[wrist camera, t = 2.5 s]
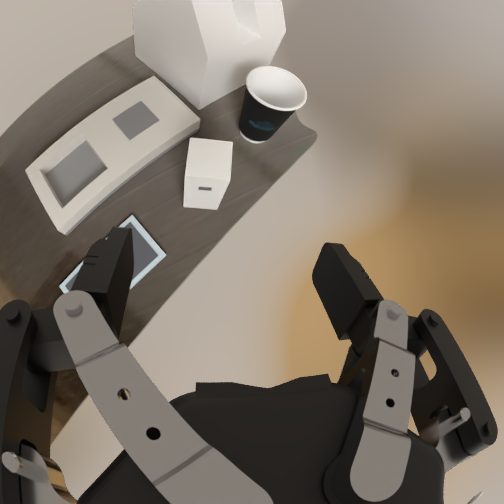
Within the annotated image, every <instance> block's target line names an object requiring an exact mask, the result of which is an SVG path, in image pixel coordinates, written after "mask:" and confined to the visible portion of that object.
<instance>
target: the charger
mask: <svg viewBox="0 0 504 504" xmlns="http://www.w3.org/2000/svg"><path fill="white" fill-rule="evenodd" d="M232 147H233V142H228V141H219V140H210V139H200V138H190V142H189V149H188V156H187V163H186V171H185V182H184V204H183V207H191V208H203V209H215V210H217V209H218V206H219V204H220V202H221V200H222V197H223V195H224V193H225V191H226V189H227V186H228V184H229V182H230V178H231V162H232Z"/></svg>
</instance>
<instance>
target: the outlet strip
mask: <svg viewBox="0 0 504 504" xmlns="http://www.w3.org/2000/svg"><path fill="white" fill-rule="evenodd" d="M200 120H201V119H200V118H199V117H198V116H197V115H196V114H194V113H193V112H192V111H191V110H190V109H189V108H188V107H187V106H186V105H185V104H184V103H183V102H182V101H181V100H180V99H179V98H178V97H177V96H176V95H175V94H174V93H173V92H171V91H170V90H169V89H168V88H167V87H166V86H165V85H164V84H163V83H162V82H161V81H160V80H158V79H157V78H156V77H155V76H153V77H151V78H149V79H147V80H145V81H143V82H141V83H140V84H138V85H136V86H134V87H133V88H131V89H129V90H128V91H126V92H124V93H123V94H121V95H119V96H118V97H116V98H115V99H113V100H112V101H110V102H108V103H107V104H105V105H104V106H102V107H101V108H99V109H98V110H97V111H95V112H94V113H92V114H91V115H90V116H88V117H87V118H85V119H84V120H83V121H81V122H80V123H79V124H77V125H76V126H75V127H73V128H72V129H71V130H70V131H68V132H67V133H66V134H65V135H63V136H62V137H61V138H60V139H59V140H57V141H56V142H55V143H54V144H53V145H52V146H50V147H49V148H48V149H47V150H46V151H45V152H44V153H43V154H42V155H40V156H39V157H38V158H37V159H36V160H35V161H34V162H33V163H32V164H31V165H30V166H29V167H28V168H27V169H26V170H25V171H26V173H27V175H28V177H29V179H30V181H31V183H32V185H33V187H34V189H35V191H36V193H37V195H38V197H39V198H40V200H41V202H42V204H43V206H44V208H45V209H46V211H47V213H48V215H49V216H50V218H51V220H52V221H53V223H54V225H55V226H56V228H57V230H58V231H59V232H61V233H63V234H65V235H68V234H69V233H70V232H71V231H72V230H73V229H74V228H75V227H76V226H77V225H78V224H79V223H81V222H82V221H83V220H84V219H85V218H86V217H87V216H88V215H89V214H90V213H91V212H92V211H94V210H95V209H96V208H97V207H98V206H99V205H100V204H101V203H103V202H104V201H105V200H106V199H107V198H108V197H109V196H111V195H112V194H113V193H114V192H115V191H117V190H118V189H119V188H120V187H121V186H123V185H124V184H125V183H126V182H128V181H129V180H130V179H131V178H133V177H134V176H135V175H137V174H138V173H139V172H140V171H142V170H143V169H144V168H146V167H147V166H148V165H150V164H151V163H152V162H154V161H155V160H156V159H158V158H159V157H161V156H162V155H163V154H165V153H166V152H168V151H169V150H171V149H172V148H173V147H175V146H176V145H178V144H179V143H181V142H182V141H184V140H185V139H187V138H188V137H190V136H191V135H193V134H195V133H196V132H198V131H199V126H200Z"/></svg>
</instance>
